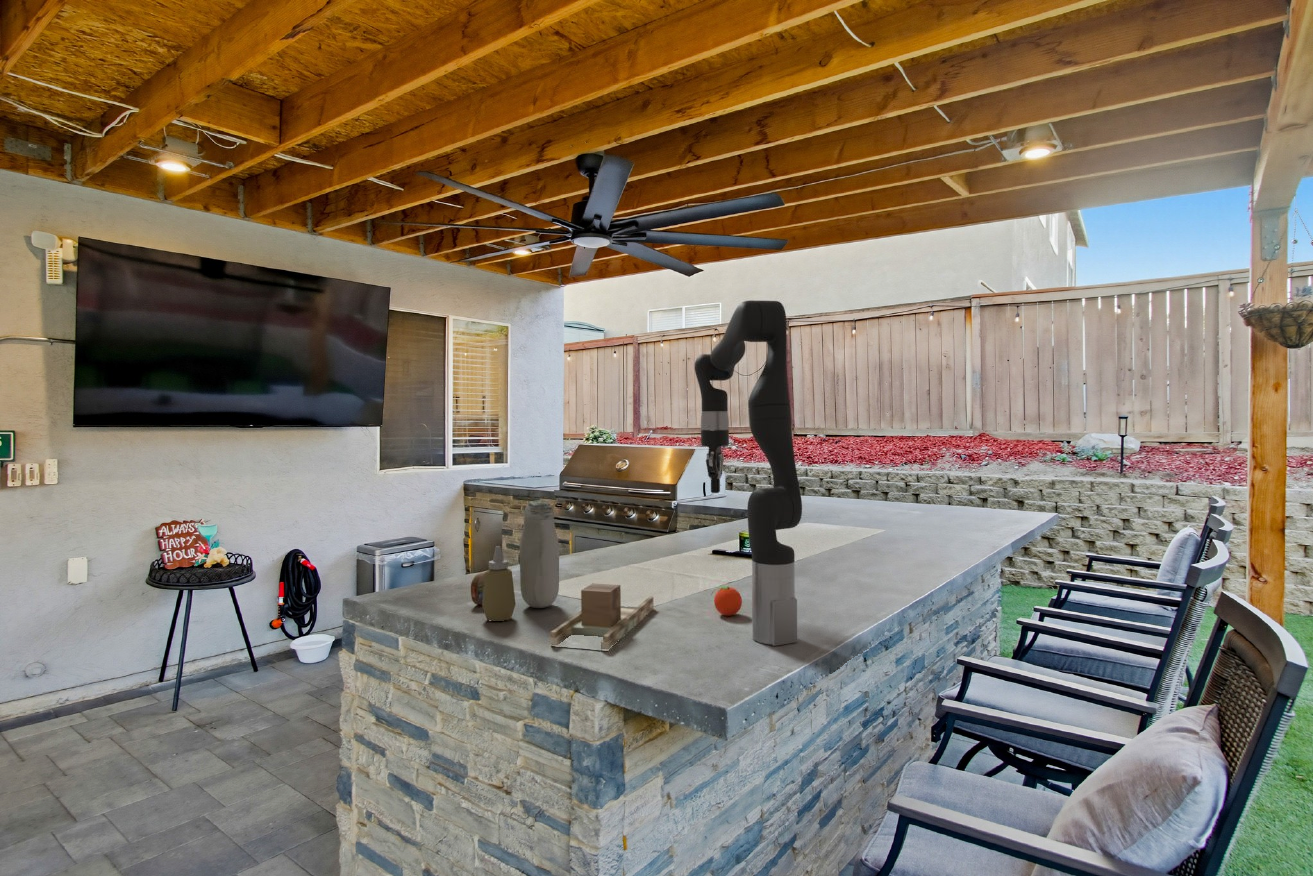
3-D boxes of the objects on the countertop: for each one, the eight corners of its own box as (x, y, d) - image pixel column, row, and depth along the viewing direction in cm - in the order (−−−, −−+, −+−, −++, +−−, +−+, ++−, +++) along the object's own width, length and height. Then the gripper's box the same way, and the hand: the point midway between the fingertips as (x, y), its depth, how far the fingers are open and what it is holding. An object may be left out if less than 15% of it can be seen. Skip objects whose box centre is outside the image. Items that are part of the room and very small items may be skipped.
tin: (479, 609, 176) (478, 576, 176) (468, 608, 177) (468, 576, 177) (508, 595, 190) (508, 565, 190) (498, 594, 191) (498, 564, 191)
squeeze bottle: (502, 613, 172) (501, 542, 171) (522, 618, 166) (521, 545, 166) (475, 620, 165) (474, 547, 165) (495, 626, 160) (494, 550, 160)
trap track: (606, 605, 177) (606, 593, 177) (653, 609, 174) (653, 596, 174) (550, 646, 145) (550, 631, 145) (607, 651, 141) (607, 636, 141)
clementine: (706, 616, 166) (705, 588, 166) (715, 609, 173) (715, 582, 173) (737, 620, 163) (736, 591, 163) (745, 613, 169) (745, 584, 169)
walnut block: (592, 616, 160) (592, 583, 160) (620, 618, 158) (620, 585, 158) (581, 625, 153) (581, 590, 153) (610, 627, 151) (610, 592, 151)
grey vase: (563, 609, 174) (562, 501, 174) (524, 613, 171) (522, 503, 170) (554, 600, 184) (553, 497, 183) (517, 604, 180) (515, 499, 179)
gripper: (706, 428, 189) (706, 490, 190) (695, 428, 177) (696, 495, 177) (732, 428, 187) (733, 490, 187) (724, 428, 174) (724, 495, 175)
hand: (715, 492), depth 182 cm, fingers closed
